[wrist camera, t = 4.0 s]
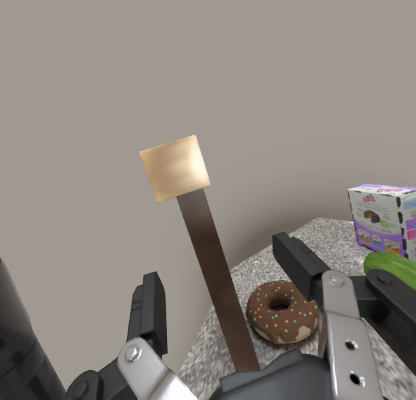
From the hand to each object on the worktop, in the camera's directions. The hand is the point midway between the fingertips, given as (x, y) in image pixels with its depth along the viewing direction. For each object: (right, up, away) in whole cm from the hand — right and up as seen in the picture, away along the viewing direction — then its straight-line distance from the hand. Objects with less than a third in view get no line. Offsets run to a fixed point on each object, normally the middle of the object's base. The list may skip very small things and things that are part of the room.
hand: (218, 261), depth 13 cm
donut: (+15, -20, +26) cm, 36 cm away
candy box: (+45, -9, +35) cm, 58 cm away
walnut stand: (+6, -23, +24) cm, 34 cm away
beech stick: (-3, +6, +13) cm, 15 cm away
